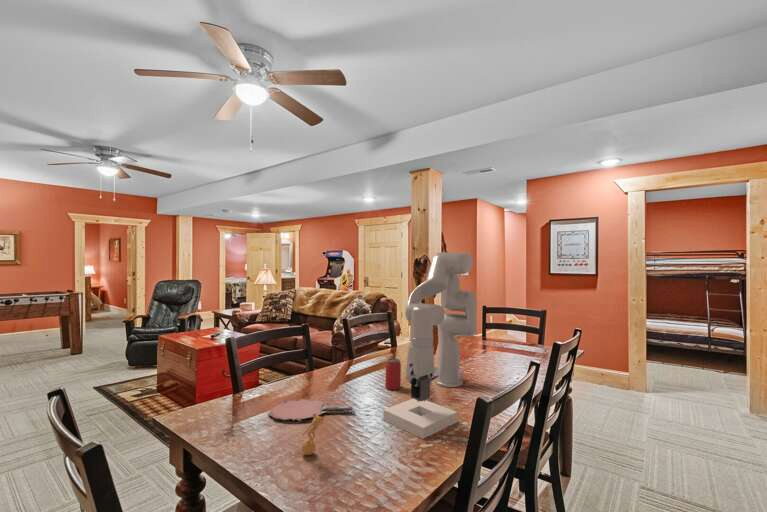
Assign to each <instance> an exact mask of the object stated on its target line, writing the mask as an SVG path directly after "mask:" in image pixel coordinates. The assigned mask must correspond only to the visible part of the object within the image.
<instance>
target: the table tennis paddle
mask: <svg viewBox="0 0 767 512" xmlns="http://www.w3.org/2000/svg"><path fill="white" fill-rule="evenodd" d="M352 412H354V404H353V405H345V406H344V405H342V406H341V405H339V406H338V405H336V406H326V404H325V402H323V401H320V400H308V399H304V398H303V399H301V398H299V399H298V398H296V399H294V400H288V399H287V400H282V402H281V403H279V404H277V405H276V406H274V407H273V408H271V409H270V410H269V412H268V415H269V416H271V417H272V418H273V419H276V421H279V420H281V423H282V422H283V423H285V421H286V420H287V424H288V423H289V424H290V423H292V424H303V423H304V424H305V421H302V420H304V419H309V418H313V414H314V413H316V414H317V415H318V416H320V417H323V414H325V415H326V414H328V415H337V414H341V415H342V414H343V415H345V414H346V413H349V416H351V415H352ZM290 420H292V421H290ZM295 420H296V421H295ZM312 421H313V419H312V420H308V421H307V422H308V423H310V422H312Z"/></svg>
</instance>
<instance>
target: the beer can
mask: <svg viewBox="0 0 767 512" xmlns="http://www.w3.org/2000/svg"><path fill="white" fill-rule="evenodd" d="M401 368H402V364H401V361H400V359H398V358H388V359H387V360H386V363H385V385H384V386H385V388H386V389H387V390H389V391H397V390H399V389H400V388H401V382H402V381H401V380H402V379H401V378H402V377H401V376H402V374H401V373H402V372H401V371H402V369H401Z"/></svg>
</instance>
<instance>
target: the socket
mask: <svg viewBox="0 0 767 512" xmlns="http://www.w3.org/2000/svg"><path fill="white" fill-rule="evenodd" d="M382 416H383V417H382V419H383V421H385V422H387V423H389V424H391V425H393V426H395V427H397V428H399V429H402V430H404V431H405V432H408V433H410V434H411V435H414V436H416V437H418V438H419V439H420V438H421V439H422V440H424V438H425V439H426V437H427V438H428V436H429V437H431V436H432V435H434V434H436V433H438V432H440V431H442V430H444V429H446V428H448V427H450V426H453V425H454V424H456V423H457V422H458V411H456V410H453V409H450V408H448V407H446V406H443V405H439V404H437V403H434V402H432V401H429V400H428V399H426V401H425V402H424V401H419V402H417V400H416V399H413V398H411V399H409V400H405V401H403V402H401V403H398V404H395V405H392V406H390V407H387V408H384V409H383V415H382Z"/></svg>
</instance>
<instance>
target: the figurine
mask: <svg viewBox="0 0 767 512" xmlns="http://www.w3.org/2000/svg"><path fill="white" fill-rule="evenodd" d="M320 416H321V415H317V414H316V413H314V414H313V417H312V418H313V419H312V420H313V421H311V423H310V424H309V426H308V428H306V430H304V432H303V434H302V437H304V436H305V435H306V434H307V435H308V438H309V439H306V440H304V441H303V442H302V444H301V452H302V454H304V455H305V456H311V455H313V454H314V453H315V451H316V447H317V446H316V445H317V444H316V442H315V441H314V439H315V437H316V433H315V432H316V431H317V430H318V428H319V425H323V423H324V421H325V417H323V416H321V417H320ZM311 434H312V435H311Z"/></svg>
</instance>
